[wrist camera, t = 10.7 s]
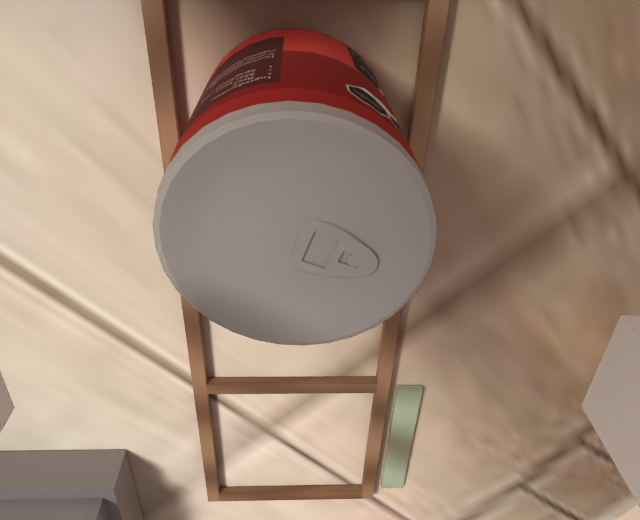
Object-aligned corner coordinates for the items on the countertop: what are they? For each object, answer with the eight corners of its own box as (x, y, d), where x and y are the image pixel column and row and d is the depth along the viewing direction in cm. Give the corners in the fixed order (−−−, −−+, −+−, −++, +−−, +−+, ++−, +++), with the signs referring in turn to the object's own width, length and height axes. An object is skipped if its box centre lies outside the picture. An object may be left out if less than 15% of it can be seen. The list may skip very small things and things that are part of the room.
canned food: (370, 198, 26) (411, 354, 17) (206, 186, 26) (158, 342, 16) (398, 34, 22) (473, 124, 13) (204, 13, 21) (138, 93, 12)
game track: (139, -43, 20) (135, -42, 20) (505, -29, 21) (510, -27, 21) (209, 493, 39) (208, 501, 39) (400, 490, 40) (402, 497, 39)
